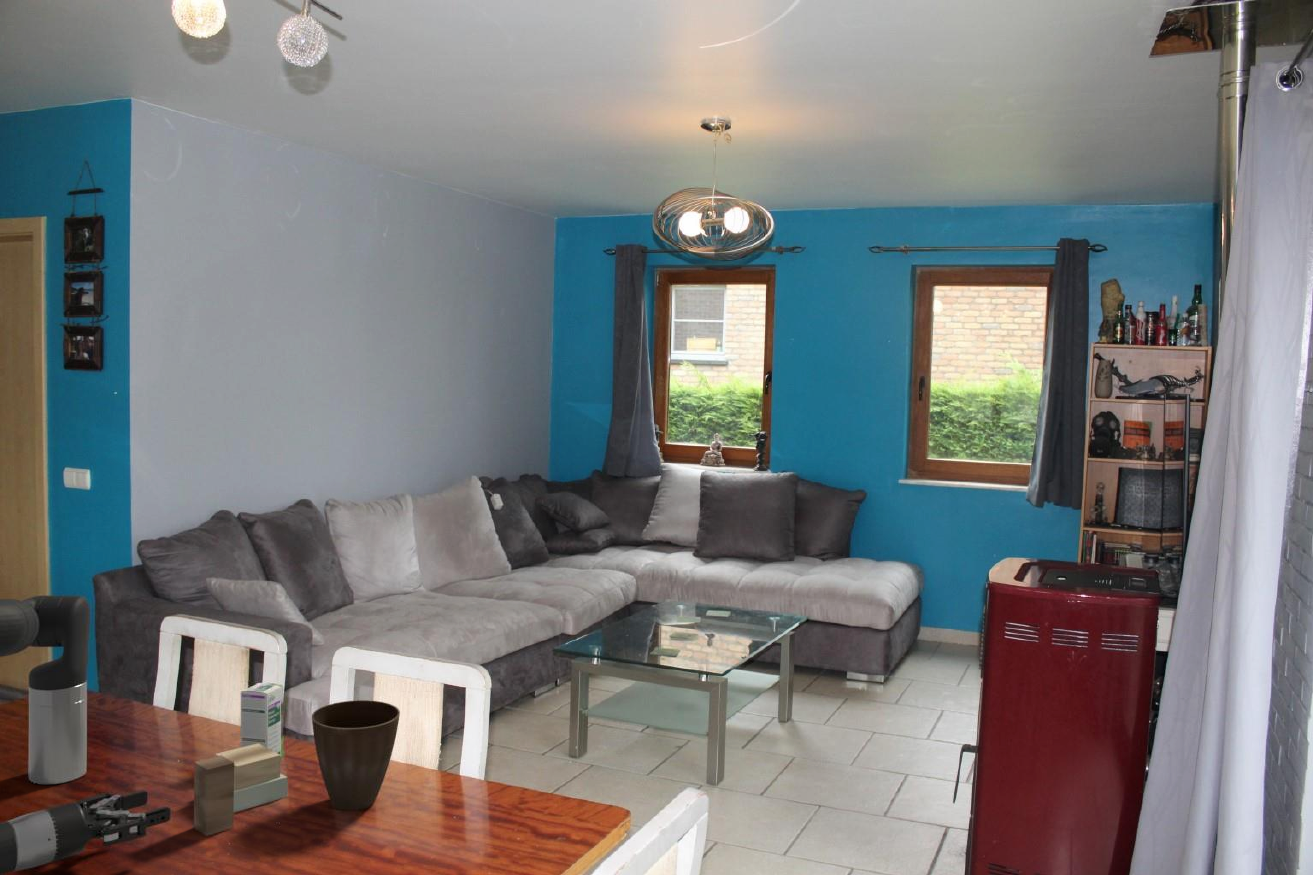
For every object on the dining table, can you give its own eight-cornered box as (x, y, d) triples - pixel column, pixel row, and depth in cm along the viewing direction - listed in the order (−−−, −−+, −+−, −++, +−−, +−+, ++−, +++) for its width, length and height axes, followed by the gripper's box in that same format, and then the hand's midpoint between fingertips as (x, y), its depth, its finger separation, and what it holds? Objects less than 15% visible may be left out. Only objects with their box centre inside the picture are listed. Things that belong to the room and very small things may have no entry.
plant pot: (415, 795, 186) (417, 708, 185) (358, 827, 173) (360, 733, 172) (350, 779, 192) (352, 695, 191) (291, 808, 179) (292, 717, 178)
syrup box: (267, 767, 197) (268, 692, 196) (239, 764, 198) (240, 689, 197) (283, 757, 202) (284, 684, 201) (256, 753, 203) (257, 681, 203)
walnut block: (193, 827, 170) (194, 762, 170) (220, 819, 174) (221, 755, 173) (206, 836, 167) (207, 769, 167) (233, 827, 171) (234, 762, 170)
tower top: (214, 776, 183) (215, 753, 183) (257, 764, 189) (258, 743, 189) (236, 789, 178) (237, 766, 177) (280, 777, 184) (280, 754, 183)
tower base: (205, 798, 183) (205, 776, 183) (259, 782, 190) (259, 761, 190) (232, 815, 176) (233, 792, 176) (287, 798, 184) (287, 776, 184)
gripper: (62, 826, 146) (177, 794, 159) (27, 796, 156) (139, 768, 168) (62, 878, 147) (177, 842, 159) (27, 845, 156) (138, 813, 168)
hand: (157, 804), depth 163 cm, fingers open, 8 cm apart
